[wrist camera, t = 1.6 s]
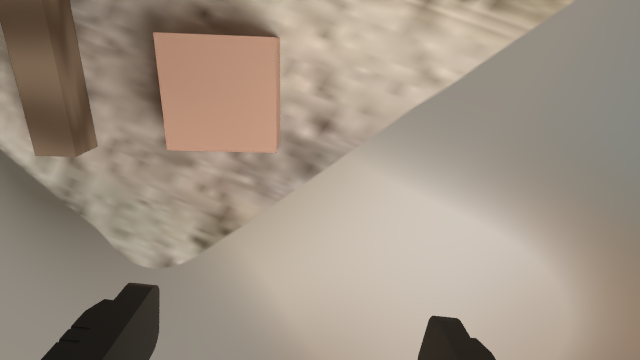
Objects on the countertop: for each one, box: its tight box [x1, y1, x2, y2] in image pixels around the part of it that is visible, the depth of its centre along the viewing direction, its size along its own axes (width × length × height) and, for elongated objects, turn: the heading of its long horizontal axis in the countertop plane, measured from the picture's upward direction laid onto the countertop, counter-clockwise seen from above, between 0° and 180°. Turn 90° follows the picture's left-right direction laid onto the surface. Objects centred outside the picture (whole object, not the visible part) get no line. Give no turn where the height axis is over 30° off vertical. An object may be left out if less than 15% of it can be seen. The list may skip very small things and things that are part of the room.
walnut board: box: [0, 0, 97, 157], centre depth 25 cm, size 20×3×3 cm, turn 178°
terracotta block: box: [153, 32, 280, 153], centre depth 27 cm, size 8×8×4 cm
